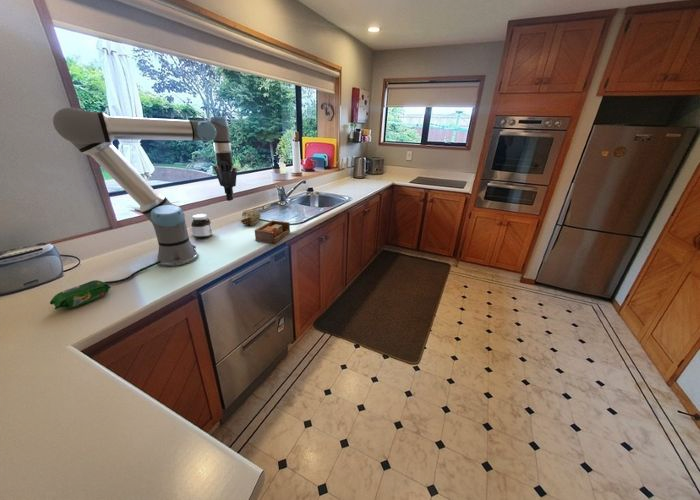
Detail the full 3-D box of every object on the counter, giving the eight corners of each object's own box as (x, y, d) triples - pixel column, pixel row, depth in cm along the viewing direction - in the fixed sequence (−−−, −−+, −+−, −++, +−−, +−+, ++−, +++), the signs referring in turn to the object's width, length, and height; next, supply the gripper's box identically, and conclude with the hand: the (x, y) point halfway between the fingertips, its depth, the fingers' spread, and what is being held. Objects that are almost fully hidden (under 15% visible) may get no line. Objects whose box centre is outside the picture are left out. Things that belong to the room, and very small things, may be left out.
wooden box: (274, 243, 146) (273, 232, 144) (255, 240, 149) (254, 230, 146) (290, 232, 162) (289, 222, 160) (273, 229, 165) (272, 220, 162)
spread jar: (205, 240, 147) (202, 218, 143) (184, 239, 147) (180, 217, 143) (216, 232, 158) (213, 212, 154) (196, 231, 158) (192, 211, 154)
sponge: (258, 228, 170) (265, 212, 186) (253, 217, 166) (261, 201, 182) (237, 231, 171) (246, 215, 187) (232, 220, 167) (242, 204, 183)
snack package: (48, 309, 90) (42, 296, 88) (105, 287, 103) (100, 275, 101) (59, 316, 87) (52, 303, 85) (116, 292, 100) (111, 280, 98)
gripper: (239, 152, 137) (245, 199, 146) (217, 150, 140) (224, 197, 149) (229, 153, 130) (236, 203, 140) (206, 151, 133) (214, 200, 143)
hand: (230, 200), depth 145 cm, fingers closed
